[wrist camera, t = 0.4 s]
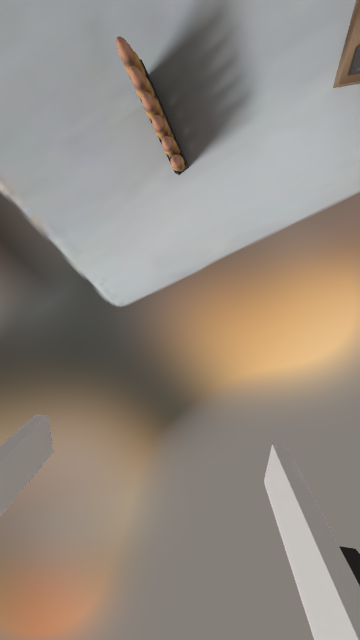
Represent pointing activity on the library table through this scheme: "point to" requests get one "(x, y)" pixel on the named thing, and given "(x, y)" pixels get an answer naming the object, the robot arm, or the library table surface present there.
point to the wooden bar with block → (349, 51)
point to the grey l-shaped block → (355, 62)
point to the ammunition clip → (152, 105)
